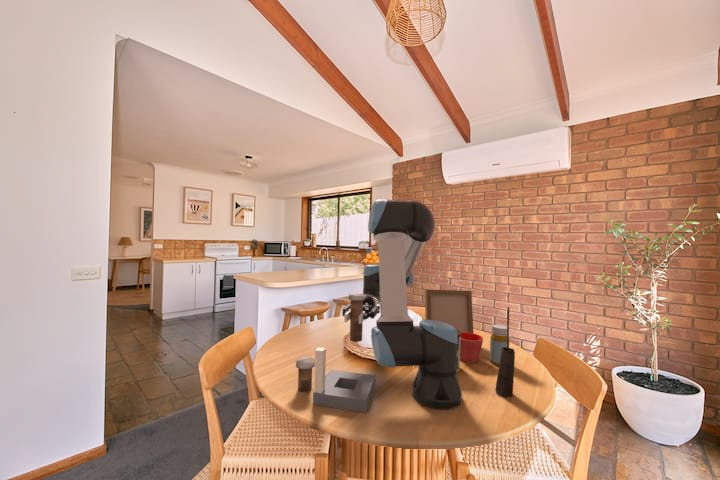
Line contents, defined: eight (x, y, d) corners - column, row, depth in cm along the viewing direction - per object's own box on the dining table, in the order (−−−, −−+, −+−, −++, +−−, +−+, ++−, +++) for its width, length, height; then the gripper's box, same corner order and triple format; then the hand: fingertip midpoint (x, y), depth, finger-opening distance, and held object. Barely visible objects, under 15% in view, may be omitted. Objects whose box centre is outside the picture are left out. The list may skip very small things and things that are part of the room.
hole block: (375, 385, 100) (376, 338, 99) (365, 412, 84) (367, 356, 84) (330, 379, 103) (331, 333, 103) (312, 404, 88) (314, 350, 87)
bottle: (489, 364, 119) (490, 327, 119) (490, 358, 125) (491, 323, 125) (508, 368, 116) (509, 330, 116) (508, 361, 122) (509, 325, 122)
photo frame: (473, 346, 140) (475, 293, 139) (427, 344, 140) (428, 291, 140) (464, 335, 155) (465, 287, 154) (422, 334, 155) (423, 286, 155)
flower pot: (488, 362, 121) (489, 338, 121) (467, 366, 117) (467, 341, 117) (470, 352, 131) (470, 330, 131) (449, 355, 127) (450, 333, 127)
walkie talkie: (521, 406, 89) (523, 313, 89) (487, 396, 94) (489, 309, 94) (523, 393, 97) (525, 308, 97) (491, 385, 102) (494, 304, 102)
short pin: (317, 389, 97) (318, 361, 96) (301, 395, 92) (302, 366, 92) (307, 382, 101) (308, 355, 101) (292, 387, 97) (292, 360, 97)
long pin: (367, 340, 106) (368, 295, 106) (355, 343, 102) (356, 297, 102) (356, 335, 110) (357, 292, 110) (344, 339, 106) (345, 294, 106)
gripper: (387, 315, 121) (377, 332, 99) (346, 311, 125) (328, 327, 103) (387, 296, 121) (378, 310, 99) (346, 294, 125) (328, 306, 103)
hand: (352, 319), depth 101 cm, fingers closed on long pin, 4 cm apart
